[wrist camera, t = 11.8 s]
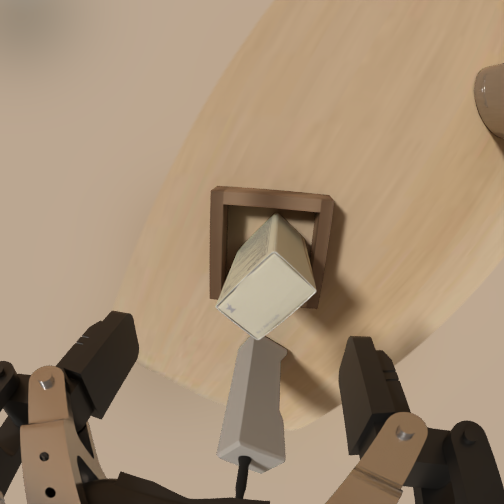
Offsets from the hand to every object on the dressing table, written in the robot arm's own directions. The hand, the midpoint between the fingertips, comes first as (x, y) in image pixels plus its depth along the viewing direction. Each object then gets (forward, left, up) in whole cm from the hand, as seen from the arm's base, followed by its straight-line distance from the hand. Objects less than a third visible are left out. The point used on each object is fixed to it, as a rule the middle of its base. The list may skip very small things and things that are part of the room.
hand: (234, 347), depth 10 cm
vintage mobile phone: (-1, +18, -22) cm, 28 cm away
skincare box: (-1, +4, -22) cm, 22 cm away
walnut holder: (-1, +4, -22) cm, 22 cm away
